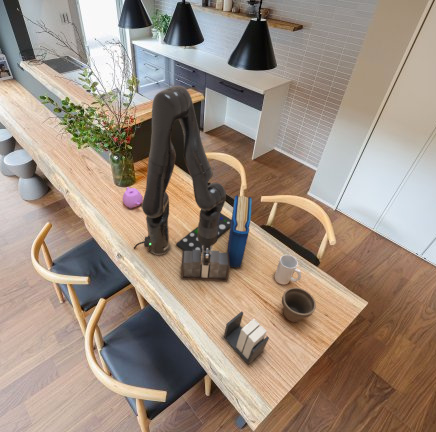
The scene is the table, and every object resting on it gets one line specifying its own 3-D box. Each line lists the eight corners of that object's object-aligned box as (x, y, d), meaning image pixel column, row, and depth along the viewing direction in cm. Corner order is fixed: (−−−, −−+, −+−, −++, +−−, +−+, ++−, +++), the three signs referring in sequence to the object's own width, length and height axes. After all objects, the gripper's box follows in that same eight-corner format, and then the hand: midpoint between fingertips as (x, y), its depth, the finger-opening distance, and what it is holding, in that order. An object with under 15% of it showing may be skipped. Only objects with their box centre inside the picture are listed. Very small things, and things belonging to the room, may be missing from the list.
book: (241, 271, 132) (250, 232, 114) (225, 268, 133) (231, 229, 115) (243, 234, 147) (252, 195, 129) (229, 232, 148) (235, 193, 130)
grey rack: (181, 279, 130) (181, 262, 121) (182, 264, 135) (182, 247, 127) (227, 281, 128) (230, 264, 120) (226, 266, 134) (229, 249, 125)
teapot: (137, 193, 170) (135, 180, 164) (148, 209, 161) (147, 195, 154) (119, 199, 167) (117, 186, 160) (130, 216, 157) (128, 202, 151)
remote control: (234, 224, 152) (235, 221, 151) (193, 258, 137) (194, 255, 136) (217, 213, 158) (217, 210, 157) (176, 245, 143) (176, 242, 141)
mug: (270, 278, 129) (276, 260, 121) (279, 269, 132) (286, 251, 124) (291, 293, 124) (299, 276, 115) (300, 283, 127) (308, 266, 119)
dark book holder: (223, 337, 111) (227, 318, 101) (238, 325, 115) (243, 305, 104) (248, 364, 104) (255, 347, 94) (263, 351, 108) (271, 332, 97)
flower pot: (302, 300, 122) (310, 286, 114) (312, 327, 113) (320, 314, 106) (273, 301, 122) (279, 287, 114) (281, 328, 113) (288, 315, 106)
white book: (201, 277, 129) (202, 257, 119) (201, 265, 133) (203, 245, 123) (207, 277, 129) (209, 257, 119) (207, 266, 133) (209, 245, 123)
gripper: (198, 216, 118) (196, 244, 130) (197, 244, 108) (196, 272, 119) (217, 217, 117) (214, 245, 129) (218, 245, 107) (215, 273, 119)
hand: (205, 258), depth 124 cm, fingers closed on white book, 6 cm apart
